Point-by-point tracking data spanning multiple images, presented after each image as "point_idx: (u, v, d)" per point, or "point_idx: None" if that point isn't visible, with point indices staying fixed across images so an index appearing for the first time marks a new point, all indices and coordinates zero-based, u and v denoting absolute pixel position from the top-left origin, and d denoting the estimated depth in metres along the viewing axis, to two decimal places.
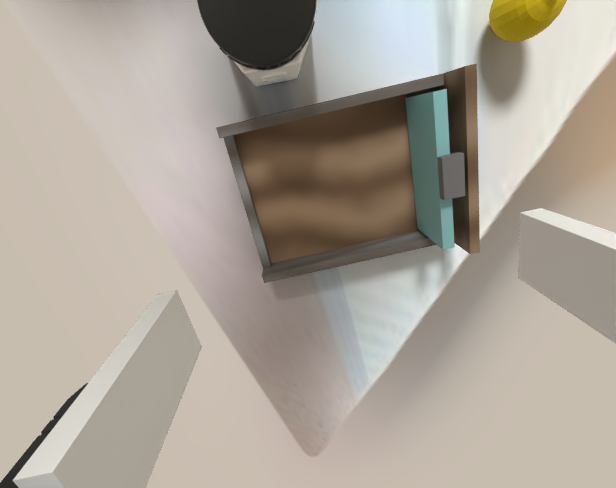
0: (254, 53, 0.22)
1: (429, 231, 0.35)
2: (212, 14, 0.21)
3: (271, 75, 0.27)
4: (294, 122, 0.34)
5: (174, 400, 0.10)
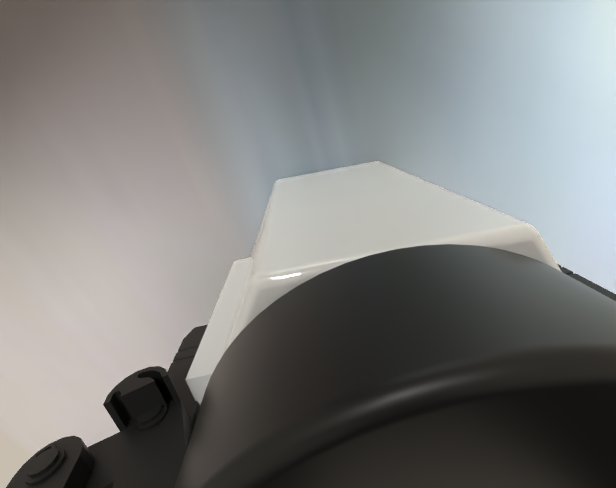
0: None
1: None
2: None
3: None
4: None
5: None
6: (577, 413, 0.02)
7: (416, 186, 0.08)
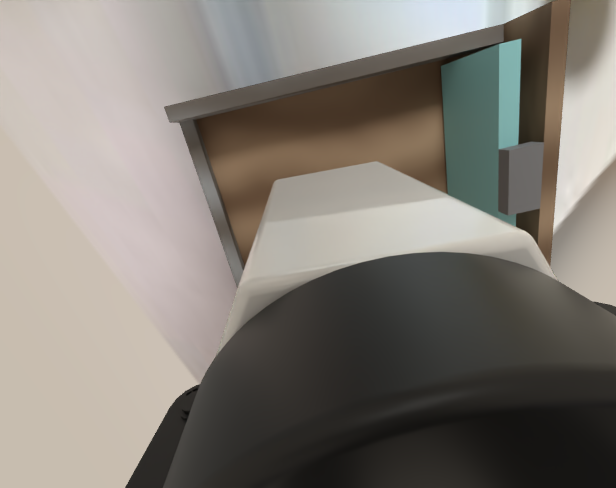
0: None
1: None
2: None
3: None
4: (282, 101, 0.24)
5: None
6: (562, 435, 0.02)
7: (413, 189, 0.08)
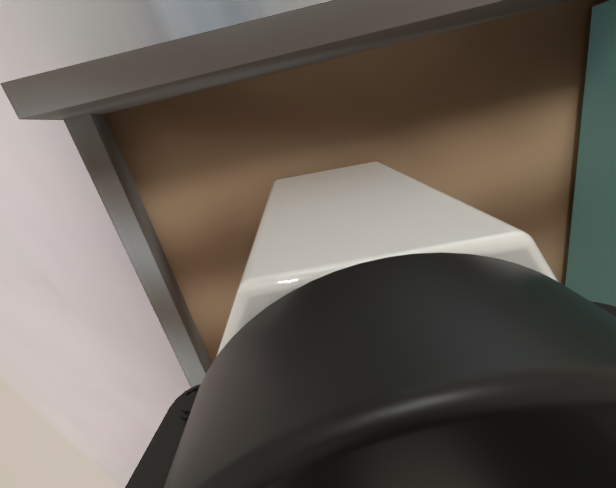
0: None
1: None
2: None
3: None
4: (273, 79, 0.12)
5: None
6: (562, 436, 0.02)
7: (413, 189, 0.08)
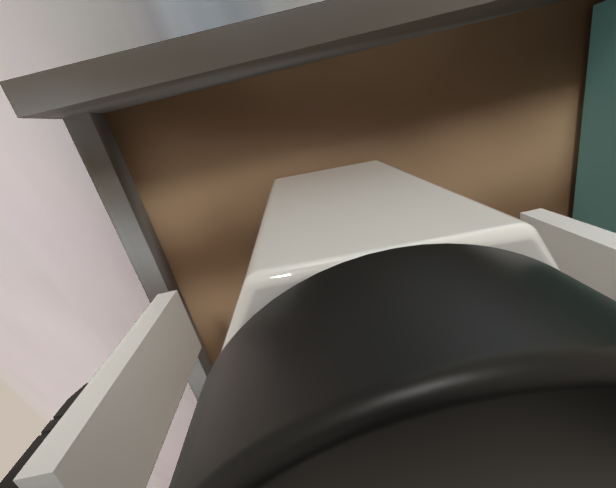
0: None
1: None
2: None
3: None
4: (272, 78, 0.12)
5: (174, 400, 0.10)
6: (576, 415, 0.02)
7: (415, 185, 0.08)
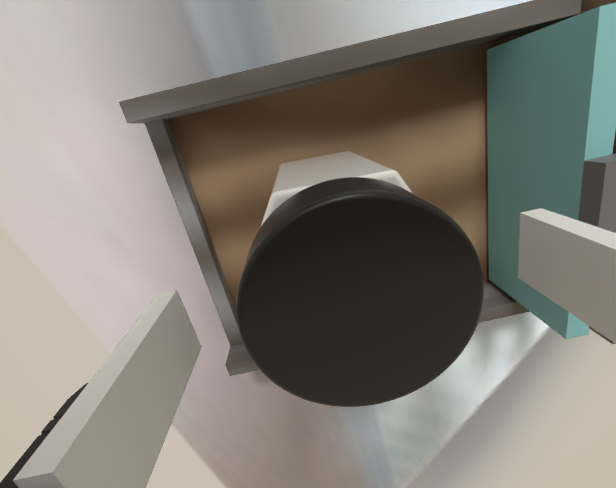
0: (346, 395, 0.11)
1: (524, 294, 0.19)
2: (267, 346, 0.10)
3: None
4: (279, 96, 0.18)
5: (174, 400, 0.10)
6: (370, 208, 0.09)
7: (361, 161, 0.14)
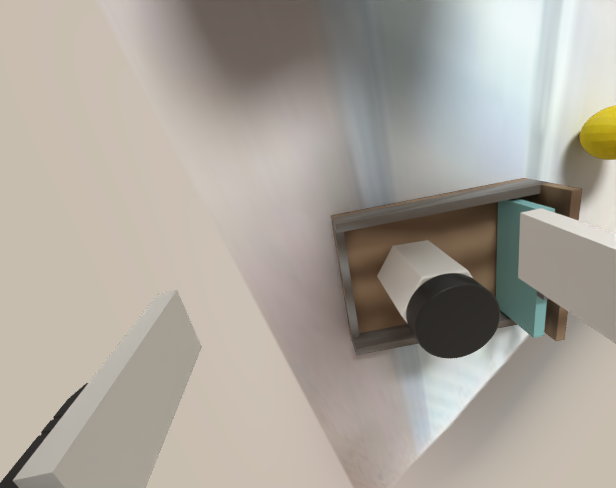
0: (448, 353, 0.30)
1: (514, 315, 0.39)
2: (424, 333, 0.29)
3: None
4: None
5: (174, 400, 0.10)
6: (466, 289, 0.28)
7: (445, 257, 0.33)
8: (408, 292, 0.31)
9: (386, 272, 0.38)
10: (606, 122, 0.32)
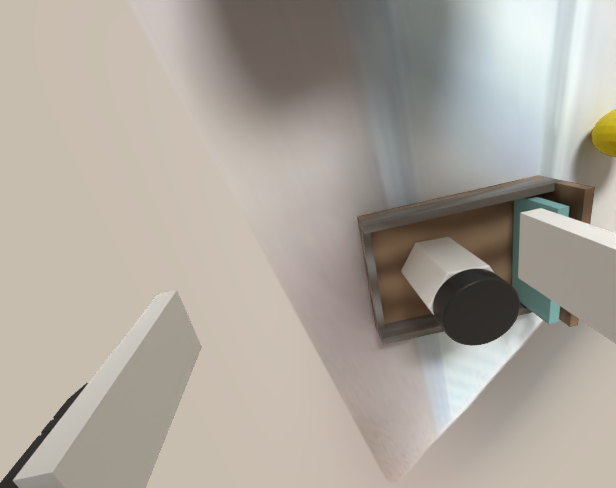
0: (472, 340, 0.33)
1: (530, 304, 0.41)
2: (451, 323, 0.32)
3: None
4: None
5: (174, 400, 0.10)
6: (489, 283, 0.31)
7: (467, 253, 0.36)
8: (434, 286, 0.34)
9: (410, 268, 0.41)
10: None
